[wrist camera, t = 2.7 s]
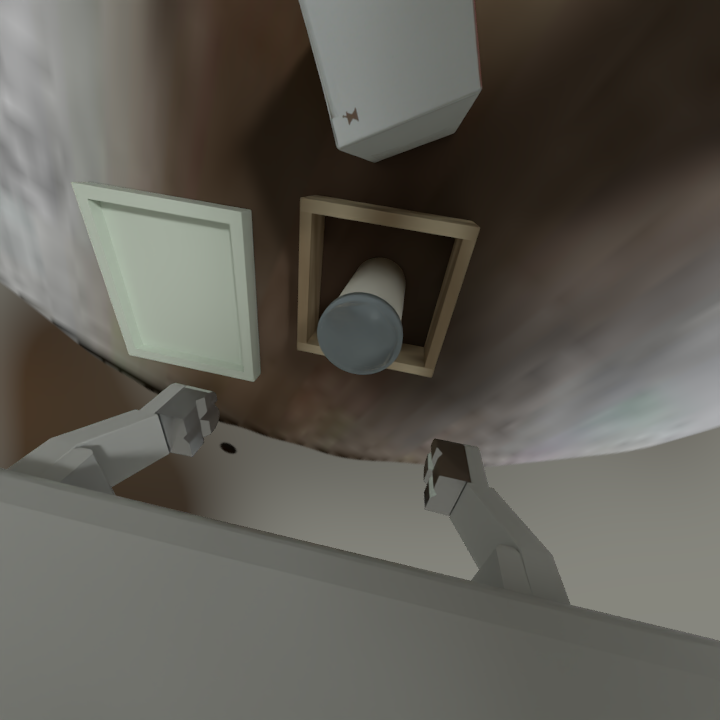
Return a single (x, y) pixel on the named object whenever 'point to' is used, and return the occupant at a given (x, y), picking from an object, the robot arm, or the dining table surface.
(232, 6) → the dining table surface
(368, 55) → the small box
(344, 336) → the canister
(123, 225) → the tray
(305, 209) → the open wooden frame
